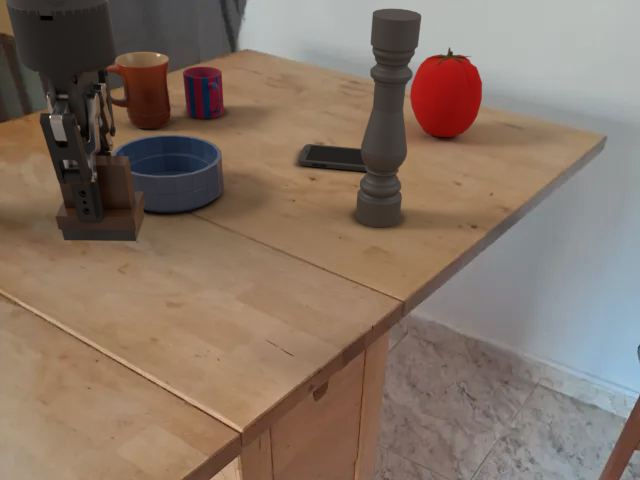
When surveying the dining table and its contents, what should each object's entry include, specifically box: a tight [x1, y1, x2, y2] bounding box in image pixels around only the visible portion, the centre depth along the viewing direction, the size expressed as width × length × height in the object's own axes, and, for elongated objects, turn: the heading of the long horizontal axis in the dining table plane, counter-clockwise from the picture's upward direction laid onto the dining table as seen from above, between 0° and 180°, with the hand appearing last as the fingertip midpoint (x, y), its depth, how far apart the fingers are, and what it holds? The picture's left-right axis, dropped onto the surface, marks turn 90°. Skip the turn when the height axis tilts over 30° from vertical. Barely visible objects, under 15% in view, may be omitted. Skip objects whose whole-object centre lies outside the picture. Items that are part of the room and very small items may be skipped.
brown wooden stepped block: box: [54, 156, 145, 242], centre depth 63 cm, size 7×6×6 cm
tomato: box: [409, 47, 483, 138], centre depth 116 cm, size 12×12×13 cm
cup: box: [182, 66, 225, 120], centre depth 121 cm, size 7×10×7 cm
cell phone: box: [297, 143, 367, 173], centre depth 110 cm, size 7×14×1 cm, turn 81°
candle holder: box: [355, 8, 422, 228], centre depth 88 cm, size 6×6×25 cm
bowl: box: [111, 134, 225, 214], centre depth 98 cm, size 15×15×6 cm
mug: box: [107, 51, 172, 130], centre depth 116 cm, size 12×9×10 cm
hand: (99, 205), depth 64 cm, fingers closed on brown wooden stepped block, 5 cm apart
